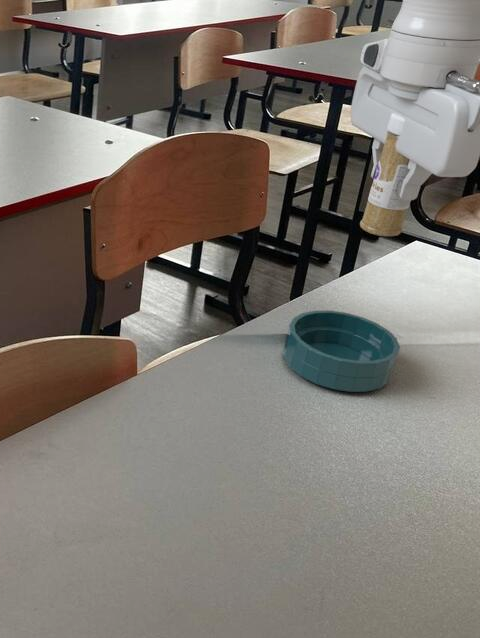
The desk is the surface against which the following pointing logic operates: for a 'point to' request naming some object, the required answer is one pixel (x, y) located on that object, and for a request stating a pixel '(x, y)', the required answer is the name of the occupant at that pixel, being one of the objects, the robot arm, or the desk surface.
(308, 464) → the desk surface
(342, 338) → the dessert bowl
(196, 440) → the desk surface
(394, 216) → the sprinkles bottle
